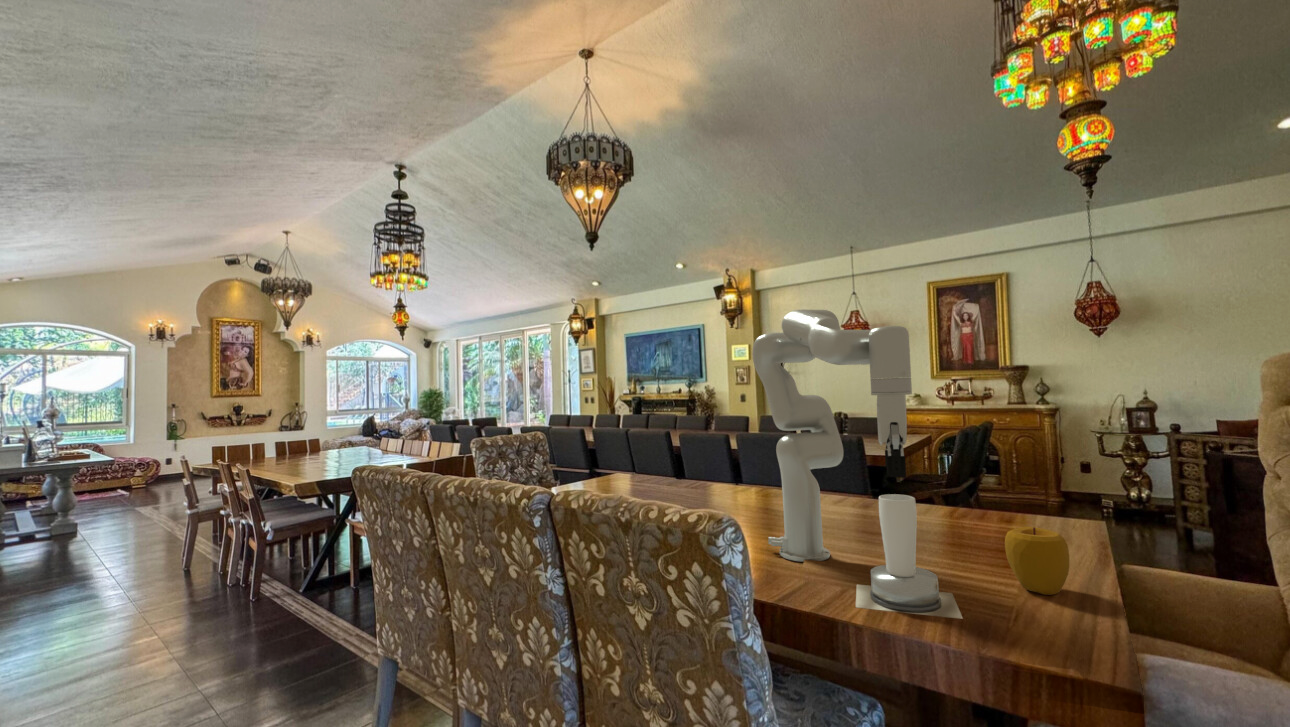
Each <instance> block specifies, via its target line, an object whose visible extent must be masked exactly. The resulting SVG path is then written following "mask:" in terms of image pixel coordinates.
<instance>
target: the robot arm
mask: <svg viewBox="0 0 1290 727" xmlns="http://www.w3.org/2000/svg"><path fill="white" fill-rule="evenodd" d="M781 330H782V332H769V333H765V334H761V335H759V336H758V337H756V339H755V341H754V342H753V345H752V361H753V366H754V369H755V371H756V373H757V375H758V377H759V379H760V381H761V383H762V385H763V387H764V392H765V395H766V398H767V401H768V402H767V403H768V406H769V409H770V413H771V416H772V419H773V423H774V424H775V426H776V428H777V429H779V430H781V431H785V432H786V431H787V432H790V431H794V432H795V431H810V432H797V433H796V432H795V433H789V434H786V435H784V436H782V437H781V438H779V439H778V441H777V443H776V447H775V448H776V449H775V451H776V458H777V461H778V466H779V471H780V479H781V489H782V490H781V491H782V492H781V493H782V505H783V506H782V507H783V508H782V509H783V523H784V524H783V526H784V535H783V536H782V535H781V536H780V537H775V536H768V540H767V541H768V545H771V547H780V548H779V555H780V556H781V557H782V558H784V559H786V560H789V561H794V562H802V563H804V562H805V561H819V562H822V561H826V560H828V559H829V558H830V556H831V554H830V553H831V552H830V550H829V549H827V548H826V547H824V541H823V540H824V539H823V520H822V507H821V506H822V505H821V490H820V485H819V483H818V480H817V478H816V477H815V476H814V475H813V473H812V471H811V470H814V469H815V470H816V469H823V468H824V469H825V468H827V469H828V468H833V467H837V466H839V465H840V464H841V463H842V461H843V459H844V445H843V443H842V438H841V436H840V431H839V429H838V426H837V423H836V420H835V417H834V414H833V411H832V408H831V406H830V404H829V403H828V401H827V400H826V399H825V398H824V397H822V396H821V395H817V394H808V395H807V394H806V395H805V394H804V395H803V394H801V393H800V392H799V390H798V387H797V384H796V381H795V379H794V377H793V376H792V375H791V374H790V372H789V371H788V370H787V369H786V368H784V367H783V366H782V365H781V364H789V363H790V364H791V363H794V364H795V363H796V364H797V363H799V364H800V363H802V364H803V363H808V362H812V361H814V360H815V359H818V360H820V361H823V362H826V363H828V364H832V365H837V366H846V365H848V366H851V365H853V366H854V365H855V366H856V365H860V366H862V365H863V366H864V365H865V366H867V365H869V373H870V374H869V376H870V395H871V396H876V419H877V423H876V424H877V435H878V436H877V440H878V444H880V446H883V445H884V443H885V449H884V458H885V459H884V460H885V462H884V463H885V469H886V470H887V477H889V478H902V479H903V478H906V477H907V470H906V469H907V468H906V456H905V452H904V445H906V444H907V435H908V434H907V433H908V432H907V431H908V430H907V428H908V424H907V421H908V418H907V400H906V396H908V395H913V388H912V367H911V353H910V352H911V349H910V348H911V347H910V334H909V330H908V329H907V328H906V327H905V326H901V325H888V326H887V325H886V326H879V327H878V326H877V327H874V328H871V329H841V326H840V323H839V318H838V316H837V315H836V314H835V313H834V312H832V311H831V310H828V309H796V310H792V311H789V312H788V313H786V315H784V317H783V318H782V321H781Z"/></svg>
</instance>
